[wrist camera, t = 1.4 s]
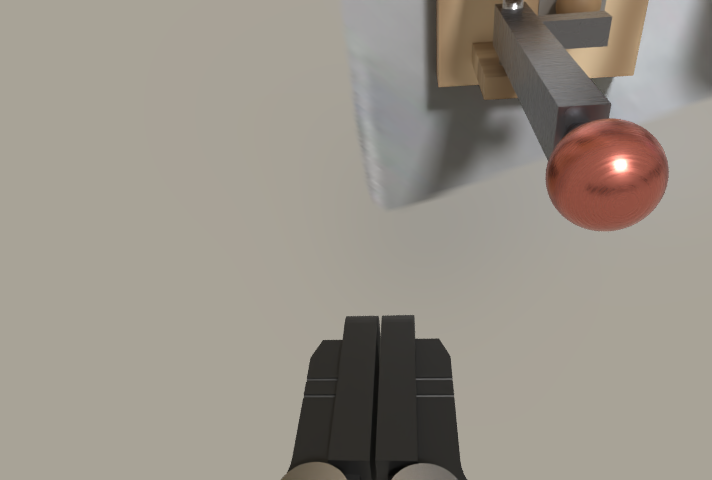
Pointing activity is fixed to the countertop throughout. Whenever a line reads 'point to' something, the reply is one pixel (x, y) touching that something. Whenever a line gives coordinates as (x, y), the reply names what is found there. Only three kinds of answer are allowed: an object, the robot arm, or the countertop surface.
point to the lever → (578, 119)
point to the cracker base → (477, 5)
